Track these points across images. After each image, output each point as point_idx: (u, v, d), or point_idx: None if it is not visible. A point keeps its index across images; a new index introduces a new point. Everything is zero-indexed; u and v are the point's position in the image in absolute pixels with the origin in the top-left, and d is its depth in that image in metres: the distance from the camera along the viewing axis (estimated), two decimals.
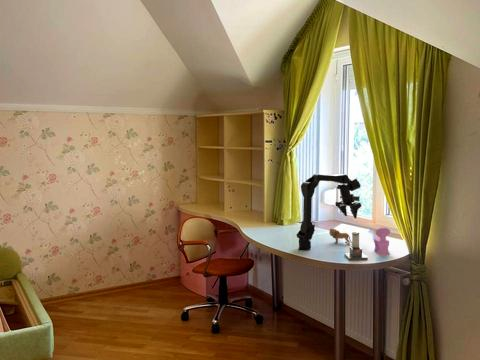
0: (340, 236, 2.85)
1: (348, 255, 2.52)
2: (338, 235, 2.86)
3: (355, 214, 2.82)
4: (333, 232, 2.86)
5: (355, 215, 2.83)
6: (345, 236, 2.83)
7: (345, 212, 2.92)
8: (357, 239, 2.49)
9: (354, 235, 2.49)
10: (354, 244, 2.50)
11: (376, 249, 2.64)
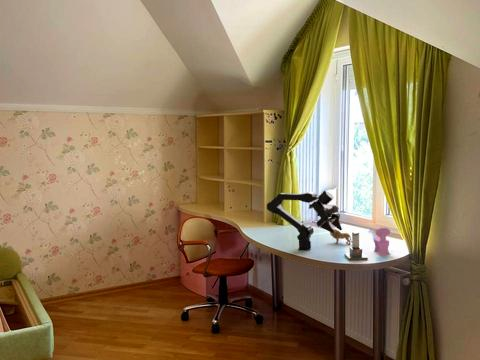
0: (341, 236, 2.85)
1: (348, 255, 2.52)
2: (339, 235, 2.85)
3: (329, 229, 2.58)
4: (334, 232, 2.86)
5: (330, 230, 2.58)
6: (346, 236, 2.83)
7: (338, 226, 2.66)
8: (357, 239, 2.49)
9: (354, 235, 2.49)
10: (354, 244, 2.50)
11: (376, 249, 2.64)
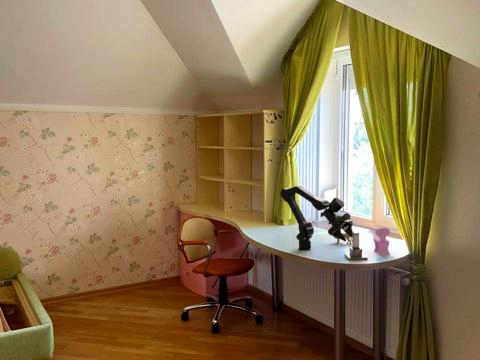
0: None
1: (348, 255, 2.52)
2: None
3: (341, 237, 2.51)
4: None
5: (342, 238, 2.50)
6: (347, 236, 2.82)
7: (351, 234, 2.58)
8: (357, 239, 2.49)
9: (354, 235, 2.49)
10: (354, 244, 2.50)
11: (376, 249, 2.64)
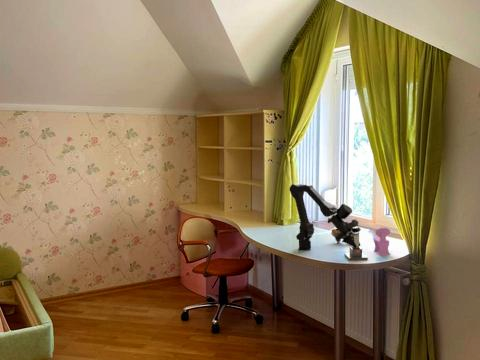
0: None
1: (348, 255, 2.52)
2: None
3: (351, 243, 2.50)
4: (335, 232, 2.85)
5: (352, 244, 2.49)
6: None
7: None
8: (357, 239, 2.49)
9: (354, 235, 2.49)
10: None
11: (376, 249, 2.64)
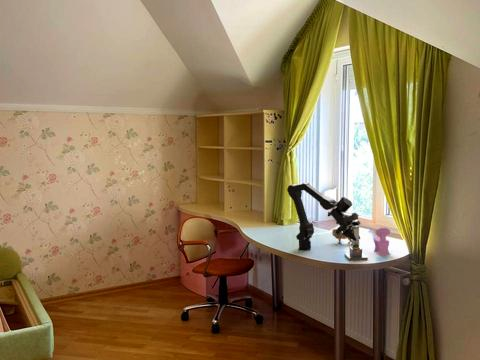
0: (343, 236, 2.84)
1: (348, 255, 2.52)
2: (341, 235, 2.84)
3: (351, 236, 2.49)
4: None
5: (352, 237, 2.49)
6: None
7: None
8: (357, 232, 2.49)
9: (354, 229, 2.49)
10: None
11: (376, 249, 2.64)
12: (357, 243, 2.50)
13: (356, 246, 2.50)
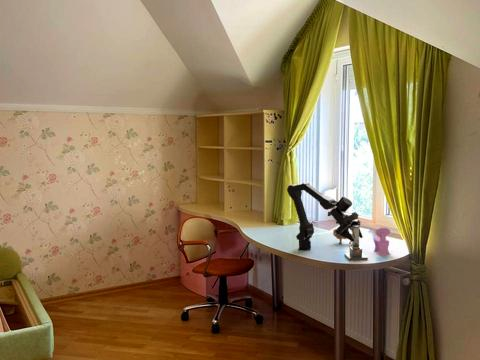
0: None
1: (348, 255, 2.52)
2: None
3: (349, 237, 2.47)
4: None
5: (350, 238, 2.47)
6: None
7: (359, 233, 2.54)
8: (357, 232, 2.49)
9: (354, 228, 2.49)
10: (354, 237, 2.49)
11: (376, 249, 2.64)
12: (357, 243, 2.50)
13: (356, 246, 2.50)
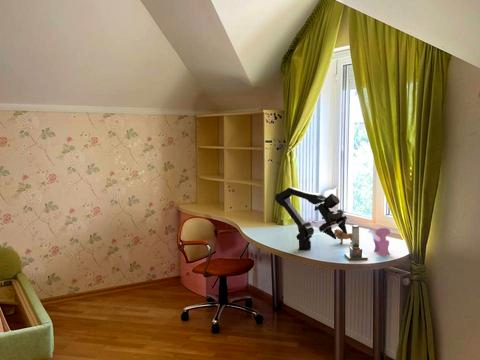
0: (345, 237, 2.83)
1: (348, 255, 2.52)
2: (343, 236, 2.84)
3: (331, 235, 2.56)
4: (338, 233, 2.84)
5: (332, 236, 2.56)
6: (351, 236, 2.81)
7: (344, 229, 2.61)
8: (357, 232, 2.49)
9: (354, 228, 2.49)
10: (354, 237, 2.49)
11: (376, 249, 2.64)
12: (357, 243, 2.50)
13: (356, 246, 2.50)
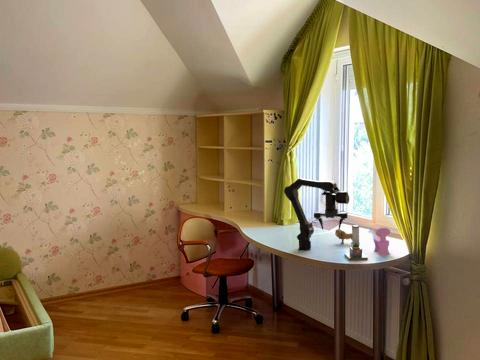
0: (346, 237, 2.83)
1: (348, 255, 2.52)
2: (344, 236, 2.83)
3: (321, 224, 2.66)
4: (339, 233, 2.83)
5: (321, 225, 2.66)
6: None
7: (339, 225, 2.63)
8: (357, 232, 2.49)
9: (354, 228, 2.49)
10: (354, 237, 2.49)
11: (376, 249, 2.64)
12: (357, 243, 2.50)
13: (356, 246, 2.50)
